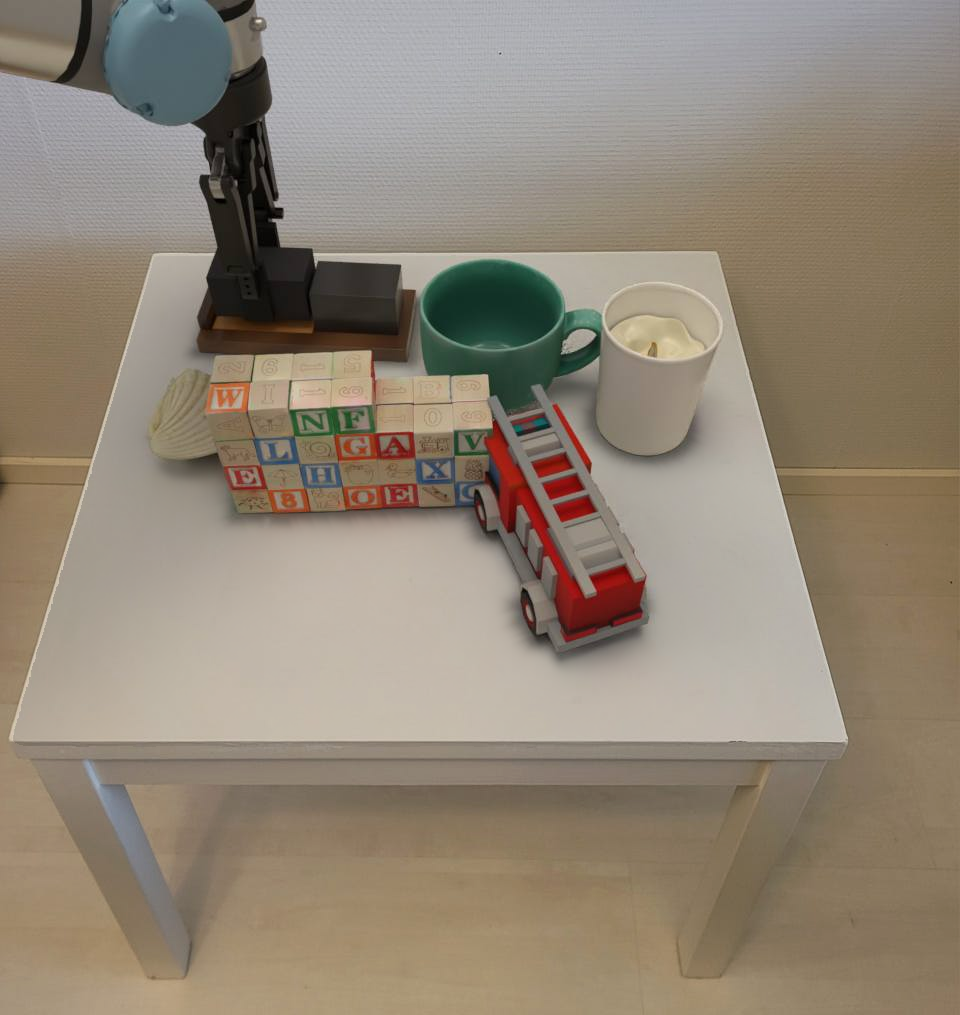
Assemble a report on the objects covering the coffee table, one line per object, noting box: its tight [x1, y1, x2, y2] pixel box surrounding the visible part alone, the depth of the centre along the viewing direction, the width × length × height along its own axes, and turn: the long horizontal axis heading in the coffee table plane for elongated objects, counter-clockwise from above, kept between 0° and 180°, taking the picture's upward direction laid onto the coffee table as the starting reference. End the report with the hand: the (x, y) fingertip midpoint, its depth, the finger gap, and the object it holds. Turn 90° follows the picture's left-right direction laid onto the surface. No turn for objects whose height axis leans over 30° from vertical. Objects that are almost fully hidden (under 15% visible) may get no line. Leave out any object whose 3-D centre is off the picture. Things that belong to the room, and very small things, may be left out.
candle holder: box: [595, 281, 725, 456], centre depth 82 cm, size 10×10×12 cm
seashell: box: [146, 368, 218, 460], centre depth 83 cm, size 8×8×8 cm
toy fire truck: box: [473, 384, 650, 654], centre depth 73 cm, size 9×19×10 cm, turn 21°
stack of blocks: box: [205, 350, 493, 514], centre depth 77 cm, size 21×6×12 cm, turn 93°
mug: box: [418, 258, 602, 413], centre depth 86 cm, size 17×13×10 cm
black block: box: [205, 246, 316, 320], centre depth 91 cm, size 9×5×4 cm, turn 87°
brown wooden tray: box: [196, 260, 417, 363], centre depth 92 cm, size 20×9×6 cm, turn 87°
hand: (266, 298), depth 93 cm, fingers closed on black block, 5 cm apart
